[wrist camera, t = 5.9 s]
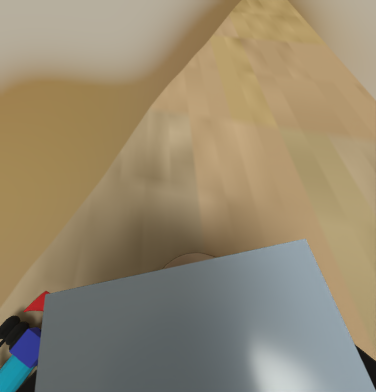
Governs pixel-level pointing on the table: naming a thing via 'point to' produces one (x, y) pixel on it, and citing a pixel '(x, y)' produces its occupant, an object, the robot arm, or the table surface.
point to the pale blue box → (203, 330)
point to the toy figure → (20, 348)
